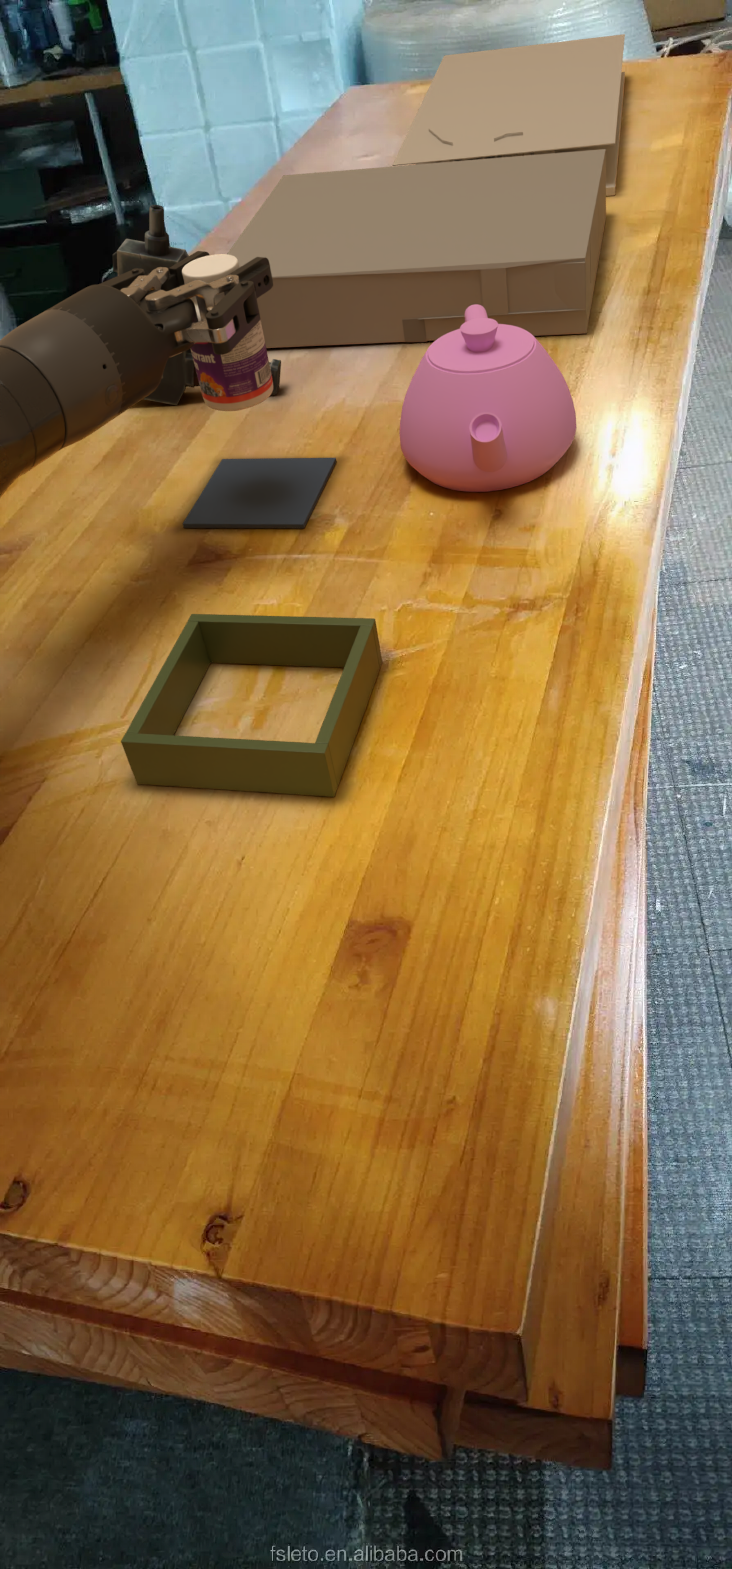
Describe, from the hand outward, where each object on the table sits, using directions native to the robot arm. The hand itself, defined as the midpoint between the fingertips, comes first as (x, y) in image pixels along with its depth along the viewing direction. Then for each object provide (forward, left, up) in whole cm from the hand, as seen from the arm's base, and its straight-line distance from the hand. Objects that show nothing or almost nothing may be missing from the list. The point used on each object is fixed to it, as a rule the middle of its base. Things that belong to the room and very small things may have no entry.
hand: (236, 268), depth 85 cm
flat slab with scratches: (+8, +82, -17) cm, 84 cm away
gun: (-12, +15, -17) cm, 26 cm away
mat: (-1, -2, -17) cm, 17 cm away
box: (+4, +39, -17) cm, 43 cm away
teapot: (+17, +3, -17) cm, 24 cm away
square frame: (+7, -29, -17) cm, 35 cm away
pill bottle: (-1, -3, -9) cm, 9 cm away
